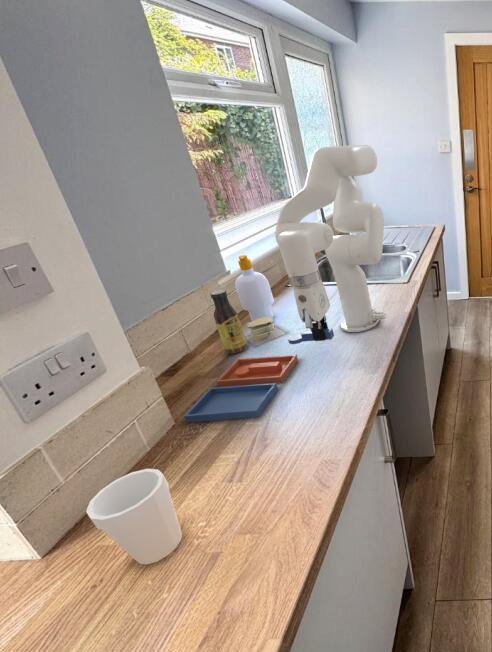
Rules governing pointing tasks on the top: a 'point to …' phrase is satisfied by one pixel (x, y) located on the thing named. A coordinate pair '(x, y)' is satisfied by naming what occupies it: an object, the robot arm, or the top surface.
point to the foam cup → (138, 515)
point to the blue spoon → (308, 336)
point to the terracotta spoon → (258, 369)
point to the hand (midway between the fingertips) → (322, 337)
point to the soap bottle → (254, 291)
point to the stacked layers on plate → (262, 331)
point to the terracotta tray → (232, 380)
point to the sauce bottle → (228, 323)
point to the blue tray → (232, 402)
